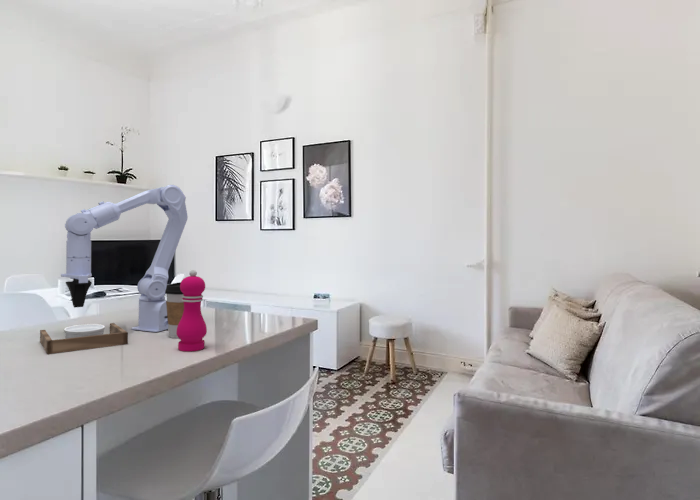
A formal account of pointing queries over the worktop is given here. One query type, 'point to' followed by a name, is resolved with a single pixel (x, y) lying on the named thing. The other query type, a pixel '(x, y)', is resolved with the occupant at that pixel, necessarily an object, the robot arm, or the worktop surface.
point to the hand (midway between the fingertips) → (78, 306)
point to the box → (84, 341)
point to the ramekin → (84, 330)
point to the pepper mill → (192, 314)
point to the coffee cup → (174, 307)
